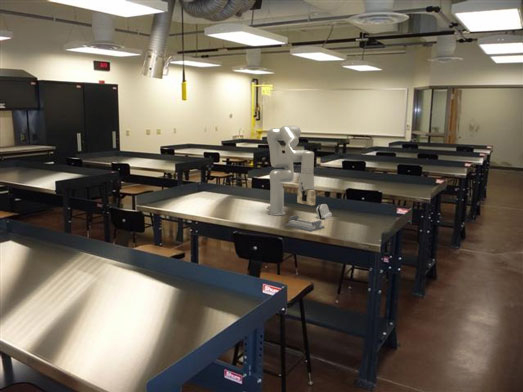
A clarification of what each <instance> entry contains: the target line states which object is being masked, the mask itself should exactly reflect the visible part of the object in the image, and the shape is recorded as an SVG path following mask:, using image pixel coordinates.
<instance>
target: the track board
mask: <svg viewBox="0 0 523 392" xmlns="http://www.w3.org/2000/svg"><path fill="white" fill-rule="evenodd" d="M285 226H286V227H290V228H293V229H294V228H295V229H298V230H302V231H306V232H309V233H312V232H314V231H318V230H322V229H325V226H324V225H322V219H321V220H320V219H317V220H314V221H310V220H306V219H302V218H300V217H299V215H298V214H296V215H291V216H289V217H288V223H285Z"/></svg>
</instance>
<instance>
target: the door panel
mask: <svg viewBox="0 0 523 392" xmlns="http://www.w3.org/2000/svg"><path fill="white" fill-rule="evenodd" d="M304 192H305V191H304ZM316 194H317V191H316V190H314V189H313V190H307V191H306V195H307V201H302V193H301V192H300V191H299V188H297V195H296V196H297V197H296V198H297V199H296V201H297V204H303V205H307V206H316V199H317V197H316Z"/></svg>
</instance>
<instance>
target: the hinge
mask: <svg viewBox="0 0 523 392" xmlns="http://www.w3.org/2000/svg"><path fill="white" fill-rule="evenodd" d="M315 212H316V214H317V220H320V219H321V220H322V219H324V221H326V220H328V219H329V218H330V217H333V214H332V212H331V211H330V210H329V206H328V204H326V203H322V204H318V205H317V207H316V210H315Z"/></svg>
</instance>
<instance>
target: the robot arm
mask: <svg viewBox="0 0 523 392" xmlns="http://www.w3.org/2000/svg"><path fill="white" fill-rule="evenodd" d="M301 135H302V130H301V128H300V127H299V126H297V125H283V126H281V127H279V128H278V127H277V128H275V127H274V128H270V129H269V130H268V131H267V133H266V141H267V143H268V147H269V158H270V159H269V161H270V165H271V167H273V168H275V169H272V170H271V171H270V173H269V174H268V175H269V184H270V190H269V191H270V192H269V193H270V195H269V199H270V200H269V201H270V202H269V205H268V206H267V207H266V210H268V211H267V215H271V216H285V215H286V212H285V210H284V206H285V205H284V202H285V199H284V198H285V189H284V186H283V185H282V184H283V183H291V182H293V181H294V178H295V170H294V169H295V168H294V163H301V166H300V167H301V169H300V170H301V171H300V175H299V180H298V189H299V191H300V192H301V193H302V201H307V195H306V191H307V190H314V189H315V188H314V187H315V175H314V167H315V166H314V165H315V164H314V163H315V160H314V159H315V152H314V151H311V150H308V149H294V148H296V147H297V146H298V144H299V142H300V141H299V138H300V137H301ZM279 141H284V143H285V147H284V153H283V149H282V146H281V144H280V142H279ZM277 168H279V169H277ZM304 191H305V192H304Z"/></svg>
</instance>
